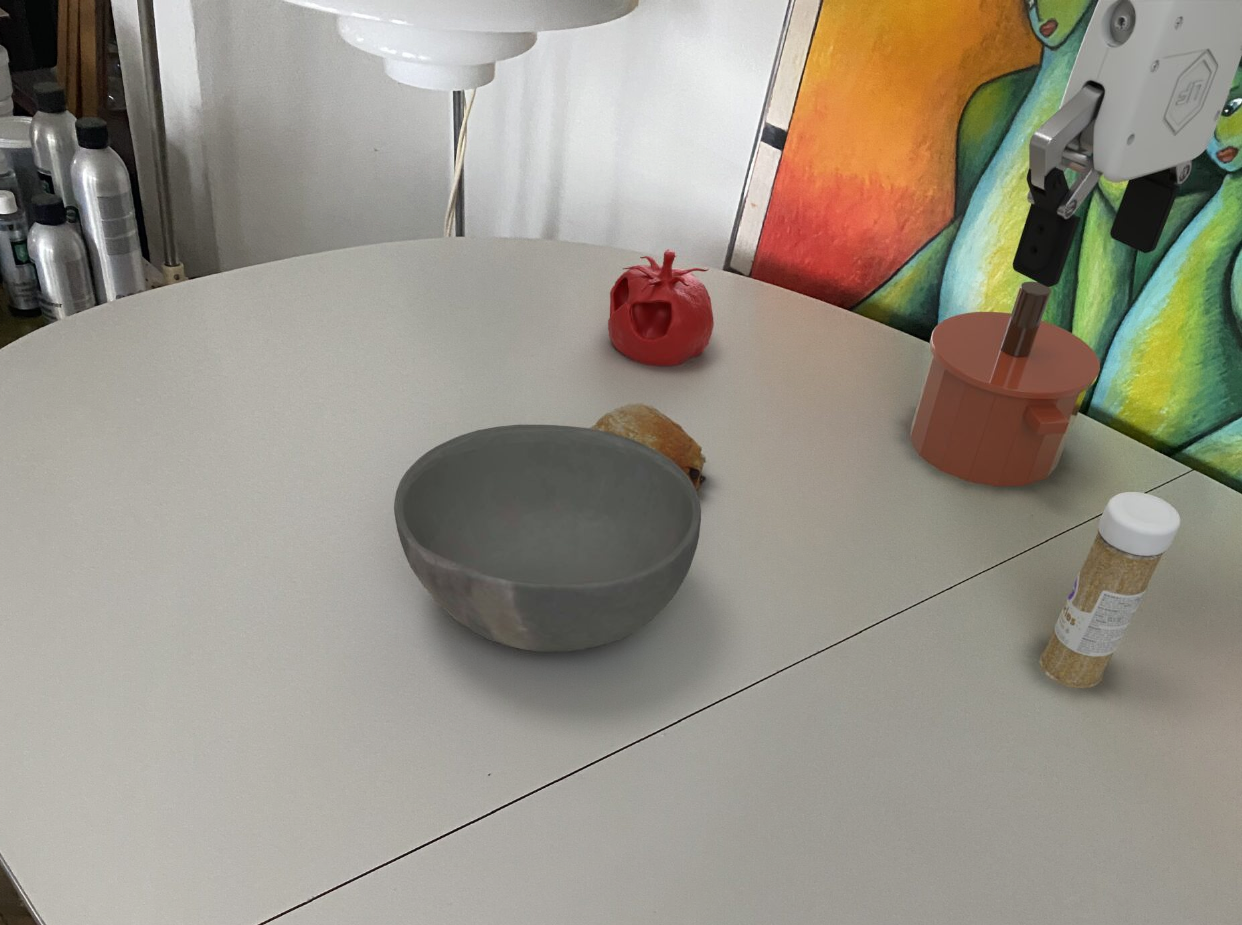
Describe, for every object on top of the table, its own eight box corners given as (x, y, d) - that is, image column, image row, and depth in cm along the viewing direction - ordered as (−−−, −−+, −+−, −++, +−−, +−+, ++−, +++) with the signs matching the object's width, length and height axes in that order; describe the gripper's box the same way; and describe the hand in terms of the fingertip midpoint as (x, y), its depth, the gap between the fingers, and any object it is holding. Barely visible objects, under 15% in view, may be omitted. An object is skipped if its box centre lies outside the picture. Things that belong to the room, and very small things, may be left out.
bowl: (737, 599, 89) (759, 478, 81) (581, 754, 77) (591, 629, 69) (515, 501, 95) (517, 380, 88) (341, 630, 83) (326, 503, 76)
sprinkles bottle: (1031, 650, 87) (1102, 485, 77) (1095, 657, 87) (1174, 493, 77) (1041, 691, 84) (1116, 525, 74) (1106, 699, 84) (1190, 534, 74)
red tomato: (667, 318, 117) (677, 217, 110) (730, 363, 112) (746, 260, 105) (582, 340, 113) (588, 237, 106) (644, 387, 108) (654, 282, 101)
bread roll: (616, 483, 104) (584, 395, 99) (727, 462, 99) (698, 369, 94) (577, 544, 98) (540, 453, 93) (693, 525, 93) (660, 429, 88)
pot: (1008, 397, 112) (1039, 305, 105) (1092, 507, 100) (1133, 412, 94) (879, 400, 109) (903, 307, 103) (950, 514, 98) (982, 416, 92)
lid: (1052, 323, 104) (1079, 249, 100) (1123, 404, 96) (1155, 327, 91) (904, 326, 102) (924, 251, 97) (963, 409, 93) (987, 330, 89)
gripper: (1164, -40, 57) (1042, 317, 70) (1355, -74, 65) (1213, 255, 78) (1040, -79, 61) (946, 267, 74) (1235, -106, 69) (1118, 212, 81)
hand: (1083, 260), depth 76 cm, fingers open, 9 cm apart
